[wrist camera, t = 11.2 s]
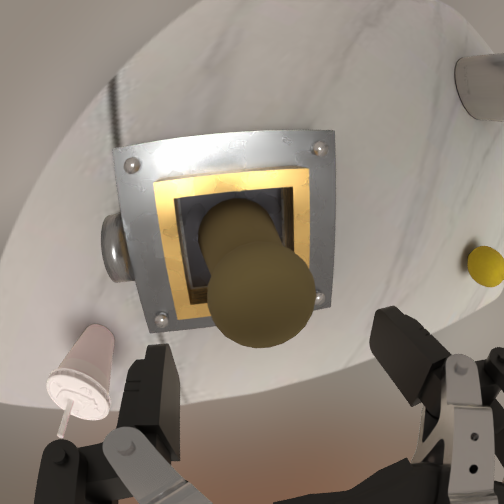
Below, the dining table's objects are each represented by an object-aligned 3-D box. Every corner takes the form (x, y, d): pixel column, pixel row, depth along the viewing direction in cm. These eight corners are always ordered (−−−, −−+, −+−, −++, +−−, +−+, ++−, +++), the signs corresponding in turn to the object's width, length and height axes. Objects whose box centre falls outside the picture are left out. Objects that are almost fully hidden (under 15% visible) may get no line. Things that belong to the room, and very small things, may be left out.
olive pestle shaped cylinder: (223, 183, 20) (247, 221, 10) (289, 222, 22) (359, 286, 12) (183, 251, 22) (175, 341, 12) (249, 283, 24) (285, 379, 14)
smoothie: (67, 314, 26) (17, 407, 13) (117, 312, 27) (82, 418, 14) (85, 358, 28) (53, 450, 15) (132, 358, 29) (114, 460, 16)
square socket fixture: (315, 131, 24) (349, 129, 18) (315, 287, 30) (341, 321, 24) (108, 151, 21) (80, 154, 16) (140, 311, 27) (129, 351, 21)
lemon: (461, 279, 35) (495, 303, 28) (455, 255, 33) (494, 278, 26) (480, 256, 35) (514, 276, 27) (475, 231, 32) (513, 250, 25)
